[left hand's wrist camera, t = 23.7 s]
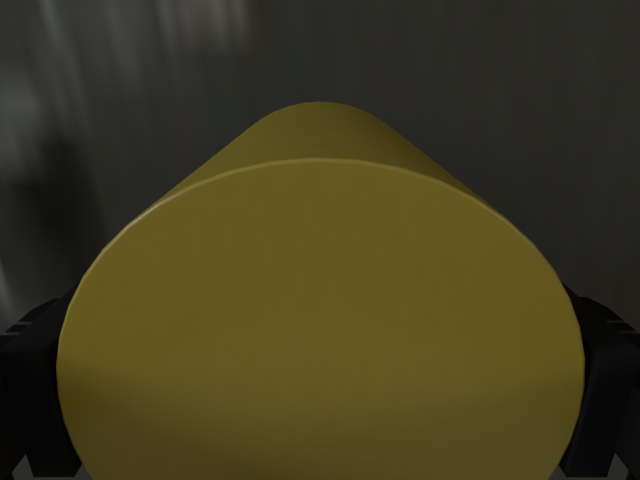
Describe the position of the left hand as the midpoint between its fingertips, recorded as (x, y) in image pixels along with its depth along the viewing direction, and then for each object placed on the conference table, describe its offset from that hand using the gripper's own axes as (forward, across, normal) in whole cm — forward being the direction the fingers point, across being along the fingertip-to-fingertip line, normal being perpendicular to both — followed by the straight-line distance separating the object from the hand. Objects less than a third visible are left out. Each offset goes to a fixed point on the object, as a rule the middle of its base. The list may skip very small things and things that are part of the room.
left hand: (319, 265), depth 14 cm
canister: (+6, 0, 0) cm, 6 cm away
